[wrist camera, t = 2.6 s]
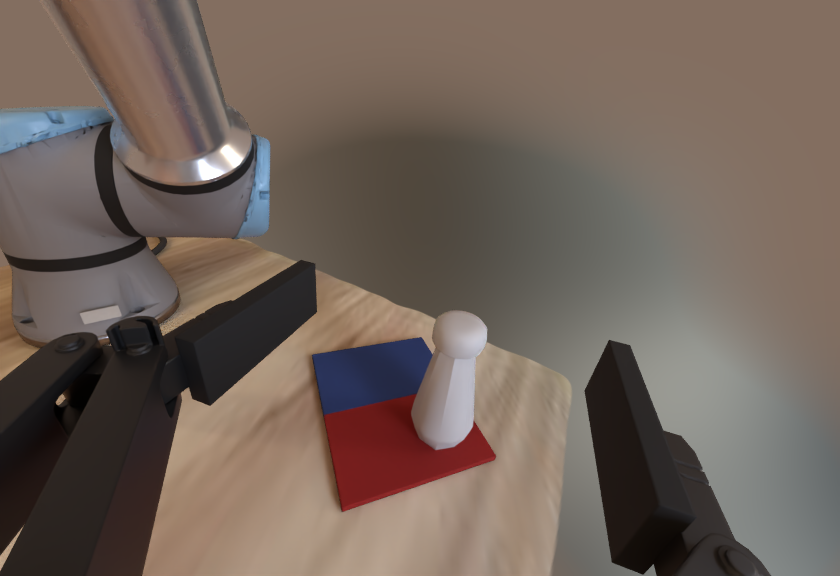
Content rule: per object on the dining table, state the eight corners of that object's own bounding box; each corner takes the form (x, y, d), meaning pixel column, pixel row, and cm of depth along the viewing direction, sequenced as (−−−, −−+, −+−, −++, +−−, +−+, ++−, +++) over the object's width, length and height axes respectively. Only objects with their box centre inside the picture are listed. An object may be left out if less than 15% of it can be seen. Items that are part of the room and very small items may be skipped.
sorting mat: (312, 358, 40) (312, 354, 40) (421, 340, 45) (421, 336, 45) (342, 512, 26) (342, 507, 26) (495, 460, 31) (496, 456, 31)
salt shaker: (448, 400, 36) (472, 296, 30) (480, 445, 32) (516, 334, 26) (398, 417, 33) (412, 306, 27) (426, 468, 29) (451, 351, 23)
